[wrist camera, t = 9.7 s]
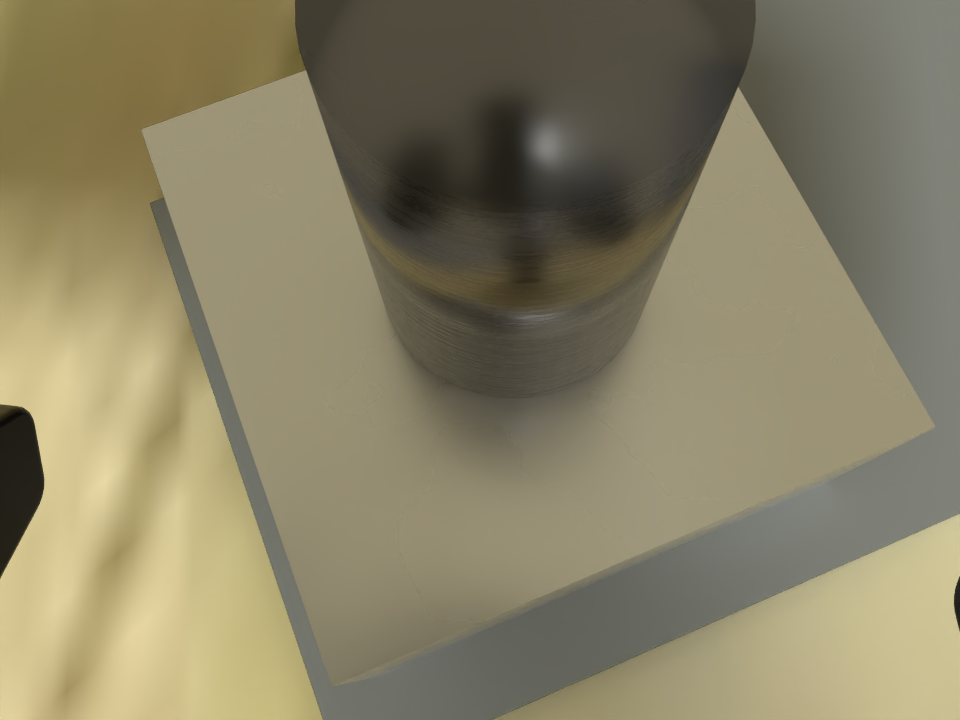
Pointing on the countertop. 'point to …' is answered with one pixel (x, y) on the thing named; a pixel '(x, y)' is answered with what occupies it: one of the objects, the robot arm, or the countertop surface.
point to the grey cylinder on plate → (515, 305)
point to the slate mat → (803, 518)
